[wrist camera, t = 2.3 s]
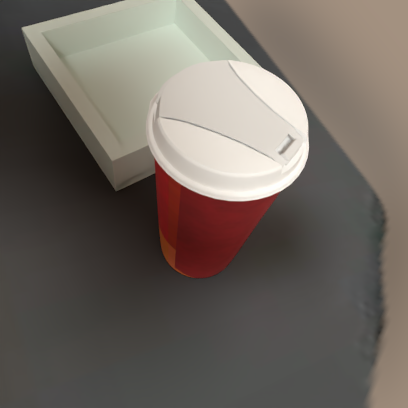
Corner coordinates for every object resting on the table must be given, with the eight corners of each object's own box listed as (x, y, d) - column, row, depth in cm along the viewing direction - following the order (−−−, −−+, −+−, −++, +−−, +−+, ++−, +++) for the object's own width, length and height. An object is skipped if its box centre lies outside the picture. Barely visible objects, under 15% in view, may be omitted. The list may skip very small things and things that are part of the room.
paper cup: (266, 238, 30) (347, 109, 18) (208, 316, 26) (260, 219, 14) (187, 182, 31) (213, 29, 19) (122, 247, 28) (104, 110, 16)
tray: (33, 66, 36) (21, 27, 32) (177, 22, 42) (179, -14, 38) (116, 191, 30) (112, 160, 27) (268, 119, 36) (281, 87, 33)
